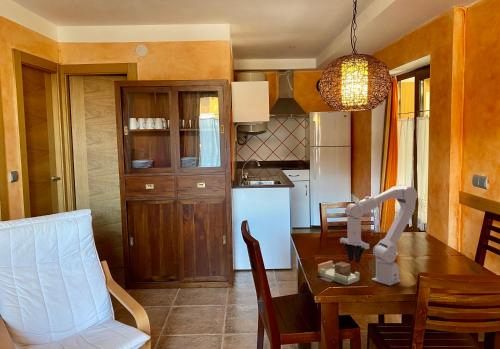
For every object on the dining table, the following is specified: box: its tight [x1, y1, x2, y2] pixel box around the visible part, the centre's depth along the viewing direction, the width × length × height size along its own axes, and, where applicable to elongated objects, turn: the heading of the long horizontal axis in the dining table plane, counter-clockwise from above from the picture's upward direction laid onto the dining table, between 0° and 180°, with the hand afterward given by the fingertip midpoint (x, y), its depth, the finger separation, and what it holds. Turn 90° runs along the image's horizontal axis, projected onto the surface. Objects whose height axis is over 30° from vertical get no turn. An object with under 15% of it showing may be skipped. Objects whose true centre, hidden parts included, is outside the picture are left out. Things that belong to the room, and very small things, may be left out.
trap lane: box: [317, 260, 361, 286], centre depth 179 cm, size 17×9×5 cm, turn 36°
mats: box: [319, 276, 335, 283], centre depth 179 cm, size 11×15×1 cm
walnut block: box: [334, 261, 352, 276], centre depth 177 cm, size 5×5×5 cm
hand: (354, 261), depth 171 cm, fingers open, 3 cm apart
